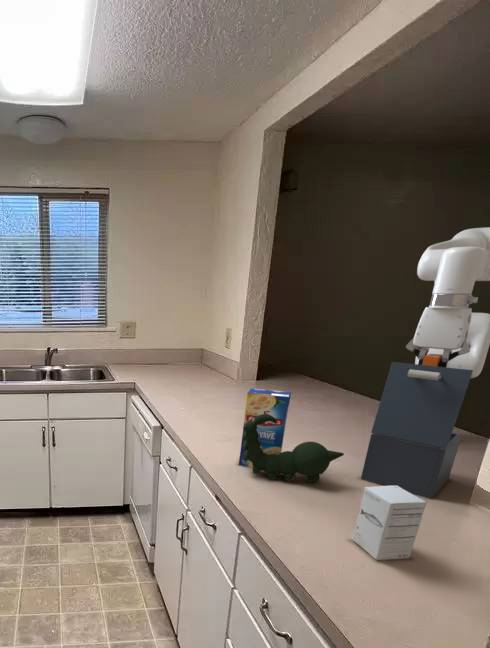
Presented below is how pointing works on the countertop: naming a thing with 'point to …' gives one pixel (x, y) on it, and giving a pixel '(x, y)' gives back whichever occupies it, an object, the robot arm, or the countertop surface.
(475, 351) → the robot arm
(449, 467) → the trash can
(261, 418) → the toy figurine
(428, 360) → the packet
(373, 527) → the white packaging box
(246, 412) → the blue food box
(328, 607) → the countertop surface
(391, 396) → the box lid
